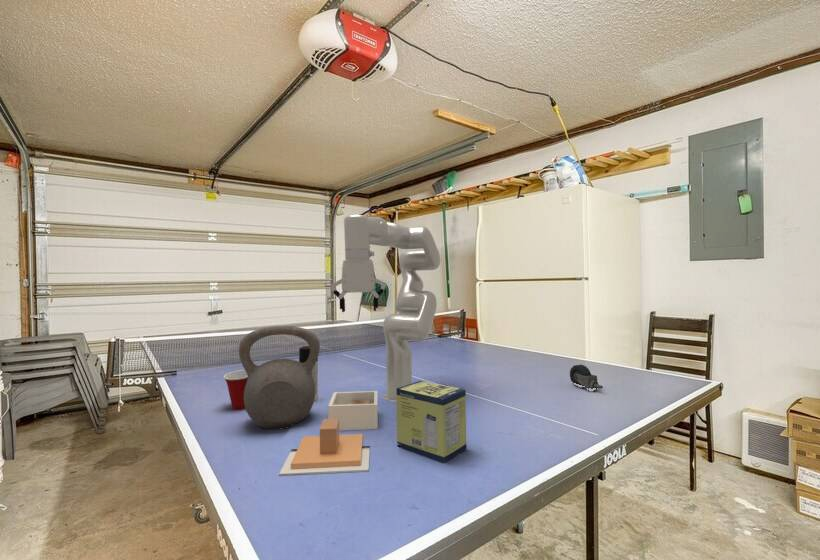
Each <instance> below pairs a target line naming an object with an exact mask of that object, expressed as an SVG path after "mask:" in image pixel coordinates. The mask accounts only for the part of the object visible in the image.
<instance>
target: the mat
mask: <svg viewBox="0 0 820 560" xmlns="http://www.w3.org/2000/svg"><path fill="white" fill-rule="evenodd" d="M370 447H371V446H370V445H364V446H363V445H362V455H361V466H342V467H322V468H303V469H291V462H292V460H293V458H294V456H295V454H296V451H297V449H298V448H296V449H295V448H292V449H290V451H289V454H288V456H287V458H286V460H285V462H284V463H283V465H282V468H281V470H280V472H279V473H278V474H279V475H278V477H279V476H280V477H281V476H297V475H298V476H299V475H319V474H320V475H322V474H340V473H341V474H342V473H359V472H360V473H363V472H369V469H370V453H371V452H370V451H371V448H370Z"/></svg>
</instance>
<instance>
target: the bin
mask: <svg viewBox="0 0 820 560" xmlns="http://www.w3.org/2000/svg"><path fill="white" fill-rule="evenodd" d="M378 398H379V397H378V390H368V391H367V390H365V391H338V392H337V391H334V392H332V396H331V398H330V401H329V403H328V406H327V411H328V412H327V413H328V414H327V416H328V418H327V419H339V431H359V430H361V431H362V430H363V431H364V430H378V426H379V425H378V421H379V420H378V419H379V418H378V413H379V411H378V409H379V407H378V406H379V405H378ZM351 400H370V404H350V401H351Z"/></svg>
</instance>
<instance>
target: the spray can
mask: <svg viewBox="0 0 820 560" xmlns="http://www.w3.org/2000/svg"><path fill="white" fill-rule="evenodd" d="M309 354H310V347H309V345H305V346H301V347H300V348H299V350H298V355H299V356H298V362H300V363H304V362H306V361H307V359H308V357H309ZM312 376H313V379H314V383H315V398H314V402H318V401H319V357H318V358H317V361H316V363H315V365H314V367H313V370H312Z"/></svg>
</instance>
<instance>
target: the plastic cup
mask: <svg viewBox="0 0 820 560" xmlns="http://www.w3.org/2000/svg"><path fill="white" fill-rule="evenodd" d="M223 379H224V380H225V382H226V385H227V389H228V394H229V400H230V403H231V407H232V409H233V410H243V409H246V408H245V404H244V391H245V386H246V383H247V379H248V375H247V373H246V371H245V369H239V370H233V371H231V372H228V373H225V374H224V375H223Z"/></svg>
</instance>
